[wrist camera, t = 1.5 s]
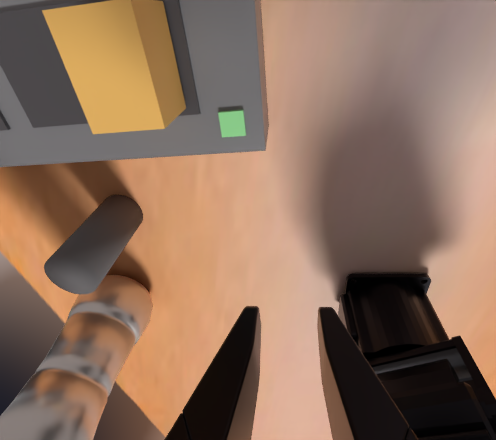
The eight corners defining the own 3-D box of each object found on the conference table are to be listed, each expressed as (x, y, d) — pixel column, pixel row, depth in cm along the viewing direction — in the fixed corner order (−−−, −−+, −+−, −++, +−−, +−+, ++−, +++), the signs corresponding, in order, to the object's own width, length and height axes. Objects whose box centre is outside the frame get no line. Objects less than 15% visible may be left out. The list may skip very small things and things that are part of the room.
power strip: (255, -76, 13) (246, -107, 10) (268, 126, 18) (265, 151, 15) (-148, -6, 16) (-263, -11, 13) (-41, 148, 21) (-102, 174, 18)
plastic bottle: (83, 263, 27) (-215, 634, 11) (153, 267, 27) (-51, 666, 10) (103, 307, 31) (-96, 633, 15) (165, 312, 30) (29, 657, 14)
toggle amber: (163, 1, 11) (129, -3, 9) (186, 107, 14) (164, 128, 11) (92, 11, 12) (41, 10, 9) (126, 113, 14) (92, 134, 12)
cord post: (135, 193, 22) (84, 256, 16) (147, 227, 24) (106, 294, 18) (96, 195, 23) (34, 257, 17) (112, 228, 24) (60, 294, 19)
